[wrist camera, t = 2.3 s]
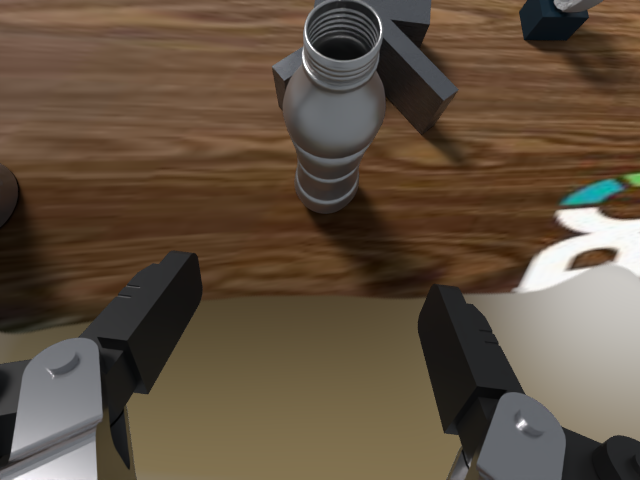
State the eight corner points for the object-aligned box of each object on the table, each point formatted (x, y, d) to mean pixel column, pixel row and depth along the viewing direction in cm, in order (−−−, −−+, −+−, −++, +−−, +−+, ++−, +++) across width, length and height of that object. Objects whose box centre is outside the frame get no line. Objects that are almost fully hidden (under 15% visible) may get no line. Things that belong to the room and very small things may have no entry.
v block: (276, 116, 35) (269, 78, 29) (293, 20, 37) (289, -33, 32) (433, 136, 35) (458, 102, 29) (438, 38, 37) (461, -11, 32)
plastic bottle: (367, 190, 33) (447, 30, 14) (323, 231, 32) (341, 121, 12) (327, 151, 34) (347, -53, 14) (283, 190, 33) (239, 26, 13)
